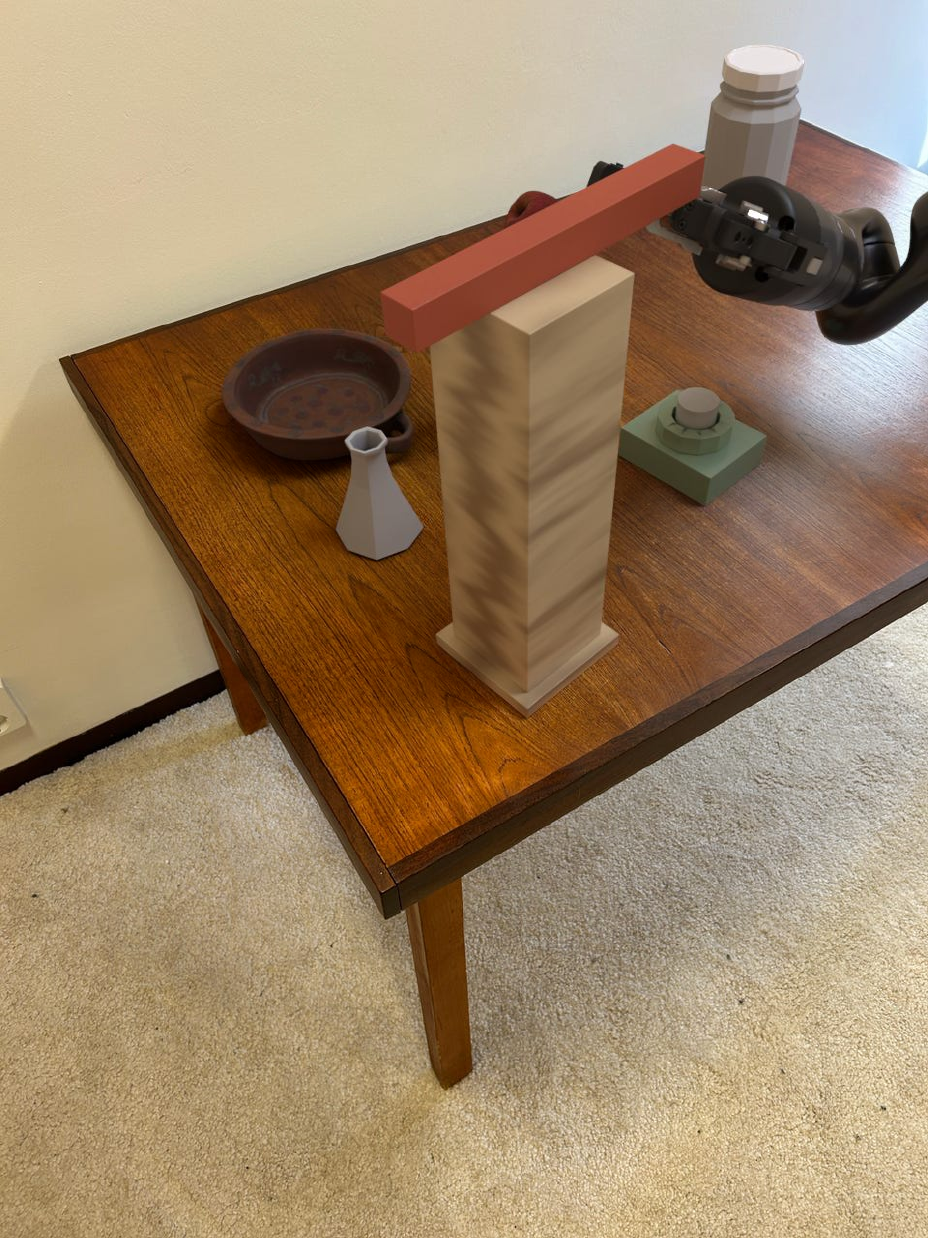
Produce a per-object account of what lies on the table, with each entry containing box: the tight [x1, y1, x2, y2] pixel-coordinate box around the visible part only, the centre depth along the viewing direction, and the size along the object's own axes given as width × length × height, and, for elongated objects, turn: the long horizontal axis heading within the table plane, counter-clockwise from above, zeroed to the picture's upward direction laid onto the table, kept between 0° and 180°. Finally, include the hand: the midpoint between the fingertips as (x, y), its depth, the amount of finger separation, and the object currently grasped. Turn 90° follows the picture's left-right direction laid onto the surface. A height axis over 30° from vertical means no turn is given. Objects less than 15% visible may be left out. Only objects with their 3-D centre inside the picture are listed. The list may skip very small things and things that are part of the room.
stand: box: [429, 254, 636, 719], centre depth 63 cm, size 10×10×31 cm
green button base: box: [617, 389, 768, 507], centre depth 86 cm, size 10×8×5 cm
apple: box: [503, 190, 560, 230], centre depth 110 cm, size 7×8×8 cm
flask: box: [335, 427, 424, 561], centre depth 80 cm, size 7×7×10 cm
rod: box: [379, 143, 705, 354], centre depth 51 cm, size 2×22×2 cm, turn 133°
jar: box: [697, 44, 805, 201], centre depth 110 cm, size 10×10×18 cm
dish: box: [221, 328, 415, 461], centre depth 93 cm, size 18×22×5 cm
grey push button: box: [675, 386, 721, 430], centre depth 84 cm, size 4×4×2 cm
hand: (649, 202), depth 55 cm, fingers open, 8 cm apart
